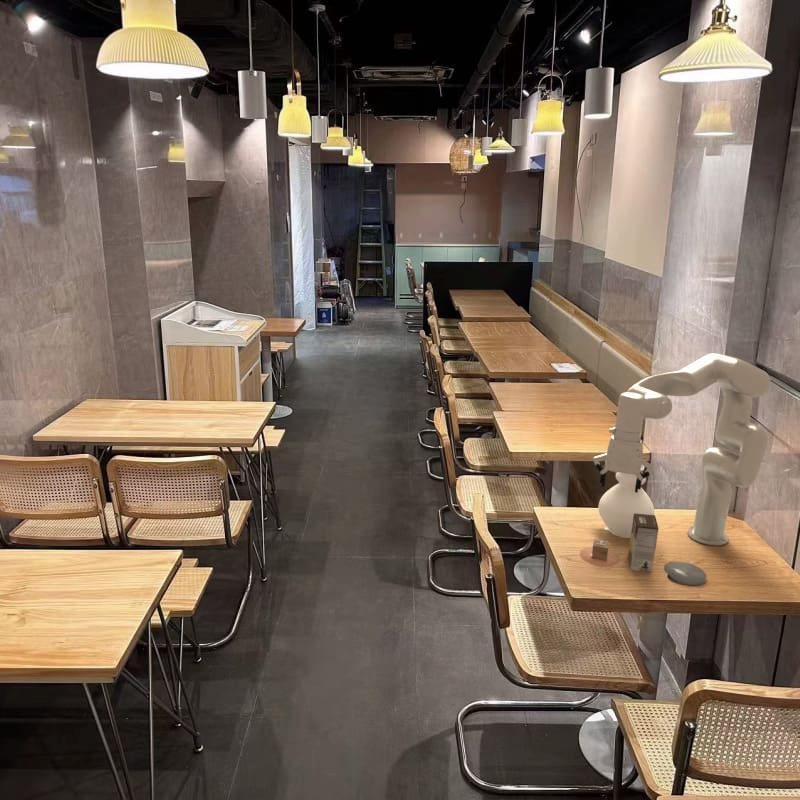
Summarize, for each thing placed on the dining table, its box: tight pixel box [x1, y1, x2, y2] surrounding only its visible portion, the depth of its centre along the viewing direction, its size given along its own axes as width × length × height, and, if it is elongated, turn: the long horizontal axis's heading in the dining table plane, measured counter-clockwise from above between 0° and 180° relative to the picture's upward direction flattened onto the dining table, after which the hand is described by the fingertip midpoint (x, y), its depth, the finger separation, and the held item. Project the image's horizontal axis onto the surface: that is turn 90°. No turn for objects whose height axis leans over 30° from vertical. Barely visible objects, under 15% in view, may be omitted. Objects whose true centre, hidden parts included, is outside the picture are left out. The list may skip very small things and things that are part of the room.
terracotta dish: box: [579, 546, 620, 567], centre depth 217 cm, size 12×12×1 cm
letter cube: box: [592, 538, 610, 561], centre depth 216 cm, size 4×4×5 cm
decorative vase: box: [597, 465, 655, 539], centre depth 231 cm, size 18×18×25 cm
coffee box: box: [627, 513, 659, 573], centre depth 211 cm, size 9×6×16 cm
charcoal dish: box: [663, 561, 707, 587], centre depth 210 cm, size 12×12×1 cm
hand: (619, 488), depth 209 cm, fingers open, 9 cm apart
